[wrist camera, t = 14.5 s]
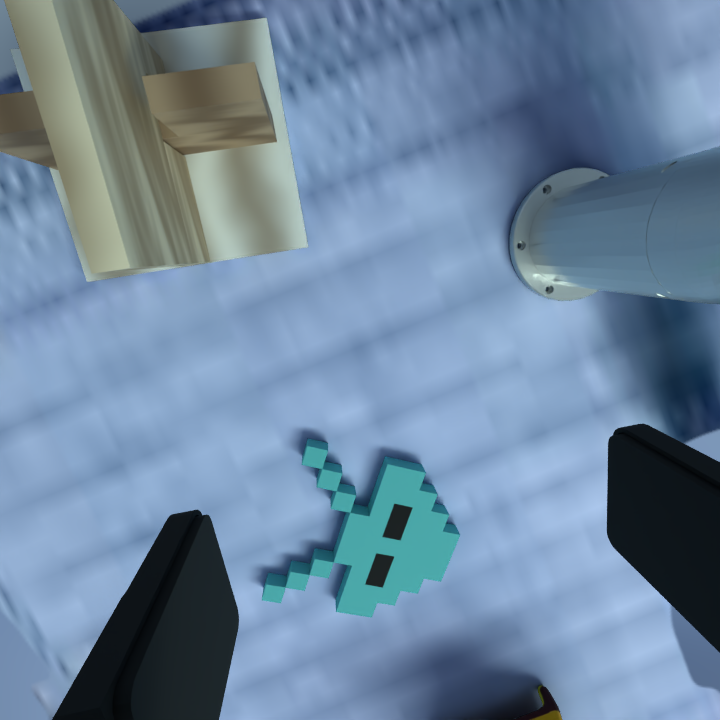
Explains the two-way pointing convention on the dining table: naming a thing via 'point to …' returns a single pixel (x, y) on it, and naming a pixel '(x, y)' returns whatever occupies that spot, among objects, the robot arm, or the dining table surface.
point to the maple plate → (108, 135)
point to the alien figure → (376, 537)
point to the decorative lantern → (544, 708)
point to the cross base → (229, 176)
